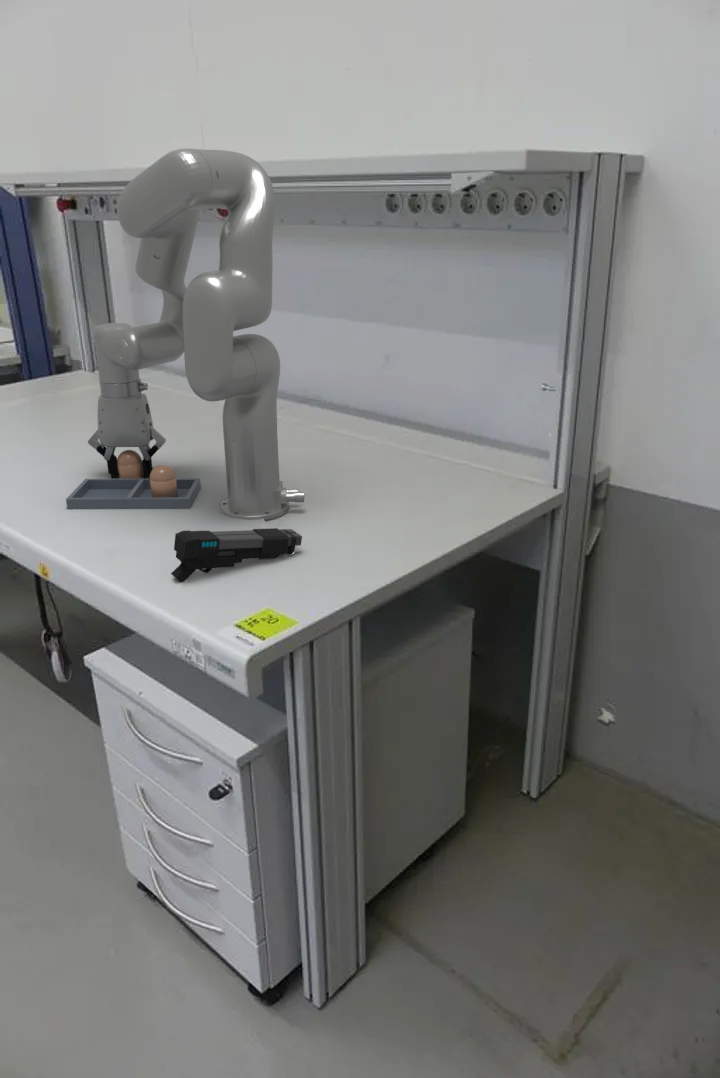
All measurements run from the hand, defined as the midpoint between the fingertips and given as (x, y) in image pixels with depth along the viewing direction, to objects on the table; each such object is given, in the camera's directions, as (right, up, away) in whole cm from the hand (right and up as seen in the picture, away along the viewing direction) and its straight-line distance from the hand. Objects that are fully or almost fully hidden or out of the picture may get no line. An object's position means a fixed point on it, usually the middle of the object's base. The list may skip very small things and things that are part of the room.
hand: (131, 476), depth 164 cm
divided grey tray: (+4, -5, -11) cm, 13 cm away
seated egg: (+9, -5, -11) cm, 15 cm away
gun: (+27, -17, -37) cm, 49 cm away
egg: (0, -1, 0) cm, 1 cm away
